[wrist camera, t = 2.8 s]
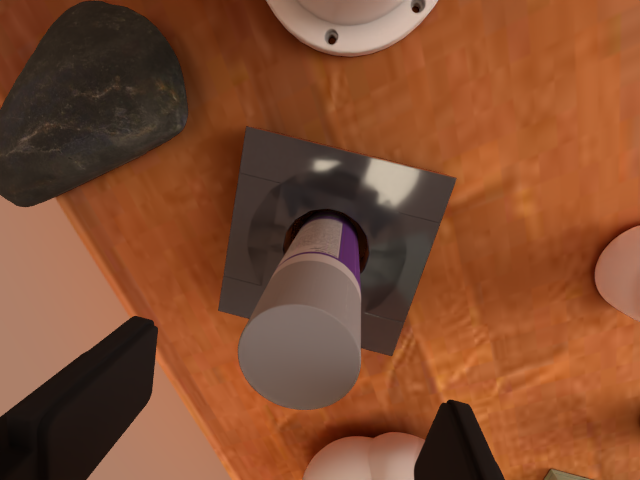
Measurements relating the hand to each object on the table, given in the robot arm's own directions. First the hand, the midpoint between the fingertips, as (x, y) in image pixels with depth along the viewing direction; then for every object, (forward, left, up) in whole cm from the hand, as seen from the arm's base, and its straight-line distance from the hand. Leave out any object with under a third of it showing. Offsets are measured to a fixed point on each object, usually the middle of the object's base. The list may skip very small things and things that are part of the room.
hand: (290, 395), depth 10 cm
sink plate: (0, 0, -16) cm, 16 cm away
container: (0, 0, -17) cm, 17 cm away
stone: (-1, -17, -14) cm, 22 cm away
